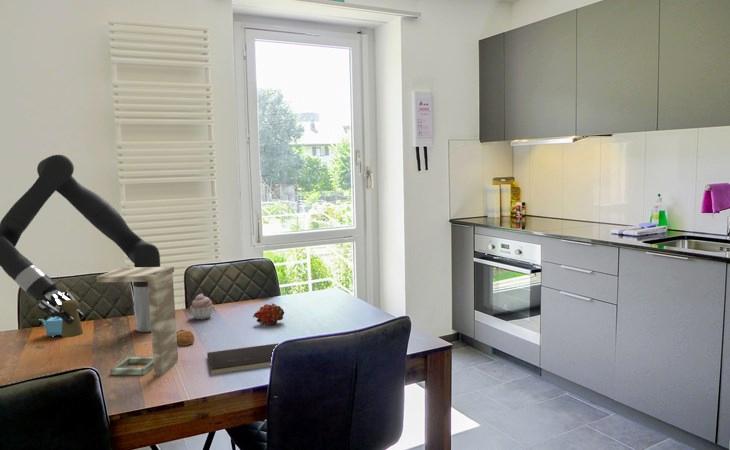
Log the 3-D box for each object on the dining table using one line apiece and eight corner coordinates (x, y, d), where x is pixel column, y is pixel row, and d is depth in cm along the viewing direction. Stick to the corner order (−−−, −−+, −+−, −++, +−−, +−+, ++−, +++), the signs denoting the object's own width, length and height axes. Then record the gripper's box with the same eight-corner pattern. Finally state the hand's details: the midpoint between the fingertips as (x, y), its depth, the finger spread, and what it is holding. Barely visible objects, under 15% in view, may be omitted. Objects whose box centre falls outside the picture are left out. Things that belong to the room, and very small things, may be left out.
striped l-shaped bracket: (104, 377, 160) (96, 276, 157) (127, 360, 174) (120, 267, 171) (161, 376, 159) (154, 276, 156) (179, 359, 173) (173, 266, 170)
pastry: (198, 344, 189) (198, 333, 189) (179, 348, 185) (178, 337, 185) (190, 337, 197) (189, 327, 196) (171, 341, 193) (170, 331, 192)
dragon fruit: (287, 327, 211) (256, 333, 210) (285, 310, 217) (255, 316, 216) (284, 313, 205) (252, 320, 204) (281, 296, 211) (250, 302, 210)
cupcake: (219, 316, 223) (218, 292, 222) (201, 322, 216) (199, 297, 214) (203, 313, 228) (202, 289, 227) (185, 318, 221) (184, 294, 219)
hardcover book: (288, 365, 168) (288, 358, 168) (211, 376, 160) (210, 369, 160) (278, 349, 183) (278, 342, 183) (207, 358, 175) (207, 351, 175)
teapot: (36, 339, 199) (34, 319, 198) (42, 334, 205) (41, 314, 204) (72, 336, 201) (70, 316, 200) (77, 331, 207) (75, 312, 206)
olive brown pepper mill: (73, 337, 168) (70, 303, 167) (56, 337, 170) (53, 302, 168) (87, 331, 174) (84, 298, 173) (71, 331, 175) (67, 297, 174)
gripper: (28, 279, 163) (71, 318, 164) (57, 269, 177) (96, 305, 178) (12, 297, 164) (55, 335, 165) (43, 286, 178) (82, 321, 179)
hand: (76, 319), depth 171 cm, fingers closed on olive brown pepper mill, 4 cm apart
